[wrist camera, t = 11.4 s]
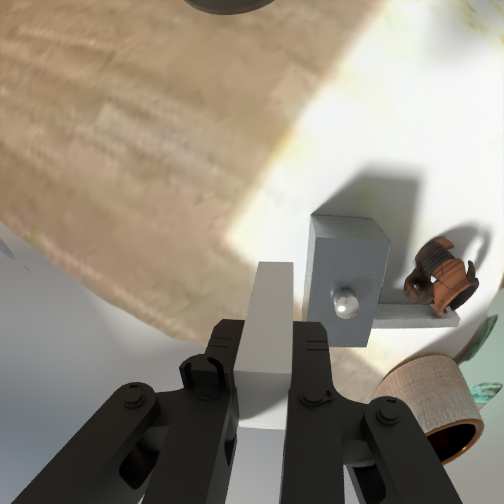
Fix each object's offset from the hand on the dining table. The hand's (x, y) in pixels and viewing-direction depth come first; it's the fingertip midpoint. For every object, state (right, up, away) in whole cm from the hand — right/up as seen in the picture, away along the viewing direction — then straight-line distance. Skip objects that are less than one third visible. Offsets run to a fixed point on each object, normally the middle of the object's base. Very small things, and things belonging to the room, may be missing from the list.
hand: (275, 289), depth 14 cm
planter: (+30, -23, +34) cm, 51 cm away
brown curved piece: (+25, -1, +25) cm, 35 cm away
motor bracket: (+18, -1, +25) cm, 31 cm away
